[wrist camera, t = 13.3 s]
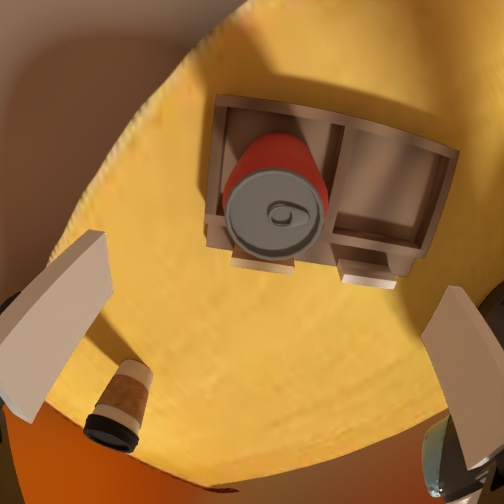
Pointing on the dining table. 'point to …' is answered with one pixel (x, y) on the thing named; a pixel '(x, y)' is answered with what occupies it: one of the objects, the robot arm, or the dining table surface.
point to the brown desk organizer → (340, 187)
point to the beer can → (275, 198)
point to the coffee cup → (121, 408)
